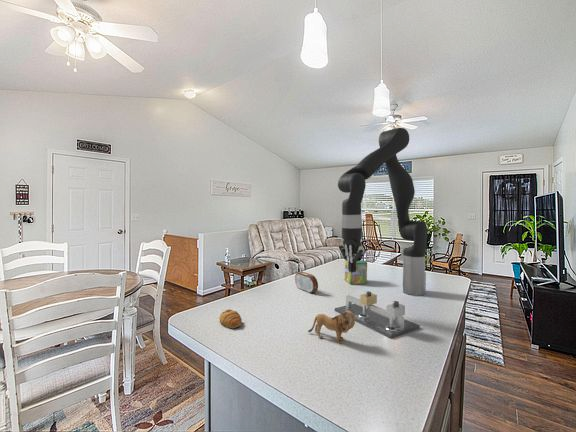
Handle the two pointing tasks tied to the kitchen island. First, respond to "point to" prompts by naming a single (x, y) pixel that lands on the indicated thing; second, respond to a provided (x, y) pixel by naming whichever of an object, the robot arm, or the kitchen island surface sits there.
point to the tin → (306, 282)
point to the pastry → (230, 319)
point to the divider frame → (384, 311)
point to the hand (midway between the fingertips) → (352, 271)
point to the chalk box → (357, 273)
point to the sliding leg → (367, 300)
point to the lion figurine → (335, 324)
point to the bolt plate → (377, 321)
